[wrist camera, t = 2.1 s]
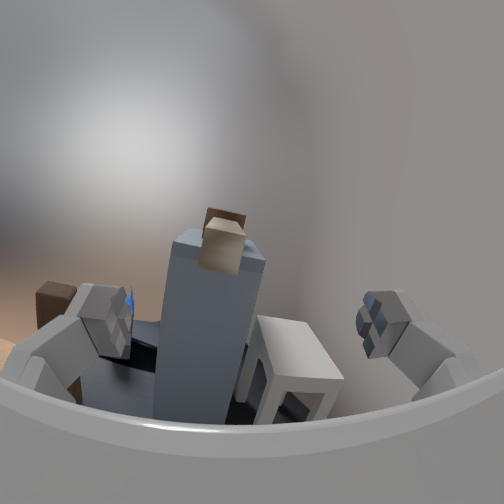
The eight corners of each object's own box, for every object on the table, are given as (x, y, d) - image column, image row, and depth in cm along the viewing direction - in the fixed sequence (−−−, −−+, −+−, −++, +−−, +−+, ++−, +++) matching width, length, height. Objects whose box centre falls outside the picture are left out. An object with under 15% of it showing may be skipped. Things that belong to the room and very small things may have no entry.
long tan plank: (184, 264, 20) (194, 210, 20) (204, 233, 41) (209, 206, 40) (250, 278, 21) (262, 225, 20) (237, 240, 42) (243, 214, 41)
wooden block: (75, 438, 24) (57, 316, 21) (44, 430, 22) (19, 307, 19) (82, 395, 32) (77, 285, 29) (56, 390, 30) (46, 279, 28)
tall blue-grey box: (152, 421, 33) (172, 241, 29) (168, 365, 48) (190, 227, 44) (221, 433, 34) (265, 260, 30) (220, 375, 50) (251, 240, 46)
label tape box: (110, 335, 52) (113, 281, 50) (128, 337, 54) (133, 283, 52) (110, 358, 44) (112, 298, 42) (131, 360, 46) (135, 300, 44)
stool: (241, 465, 28) (274, 374, 26) (235, 396, 44) (256, 314, 42) (299, 466, 29) (344, 379, 27) (279, 400, 45) (306, 322, 43)
